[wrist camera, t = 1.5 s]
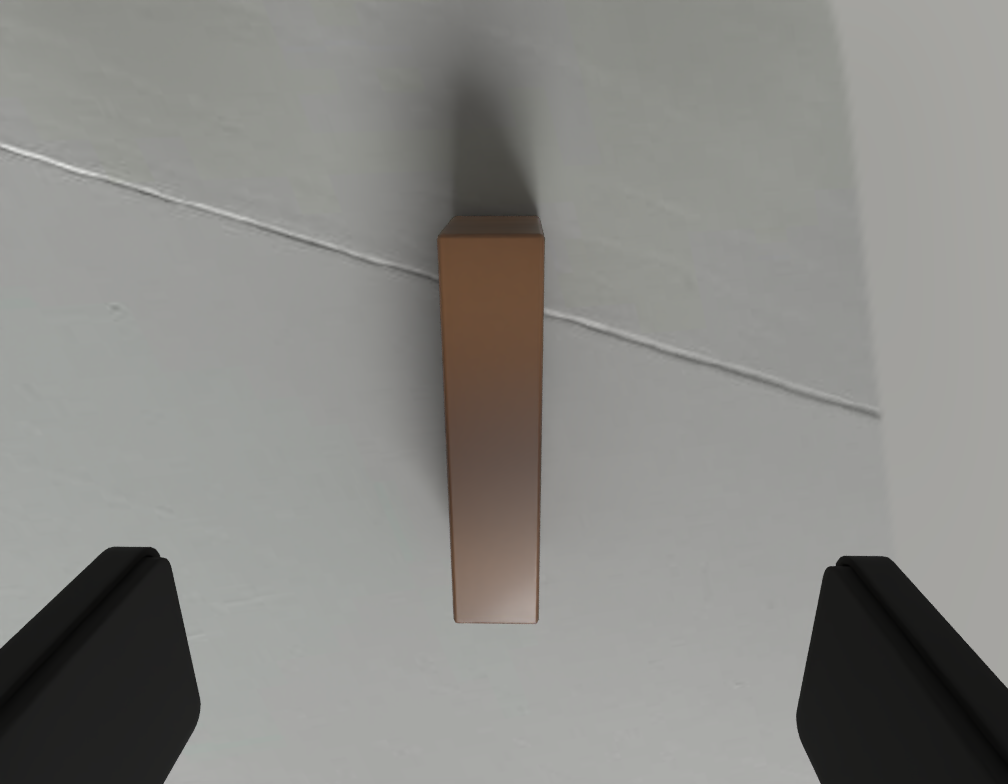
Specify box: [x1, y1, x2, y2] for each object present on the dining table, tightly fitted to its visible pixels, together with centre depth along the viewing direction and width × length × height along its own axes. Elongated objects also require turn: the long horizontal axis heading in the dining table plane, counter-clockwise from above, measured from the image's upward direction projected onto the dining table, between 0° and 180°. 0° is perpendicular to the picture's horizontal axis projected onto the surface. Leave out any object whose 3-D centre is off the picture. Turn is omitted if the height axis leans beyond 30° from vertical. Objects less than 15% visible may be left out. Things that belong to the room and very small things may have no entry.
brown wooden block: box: [437, 216, 545, 624], centre depth 15 cm, size 9×2×3 cm, turn 0°
